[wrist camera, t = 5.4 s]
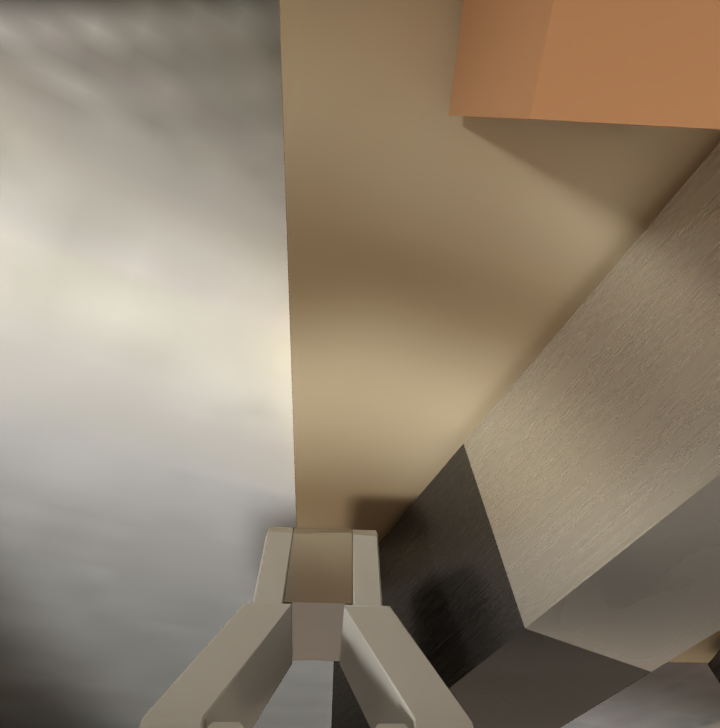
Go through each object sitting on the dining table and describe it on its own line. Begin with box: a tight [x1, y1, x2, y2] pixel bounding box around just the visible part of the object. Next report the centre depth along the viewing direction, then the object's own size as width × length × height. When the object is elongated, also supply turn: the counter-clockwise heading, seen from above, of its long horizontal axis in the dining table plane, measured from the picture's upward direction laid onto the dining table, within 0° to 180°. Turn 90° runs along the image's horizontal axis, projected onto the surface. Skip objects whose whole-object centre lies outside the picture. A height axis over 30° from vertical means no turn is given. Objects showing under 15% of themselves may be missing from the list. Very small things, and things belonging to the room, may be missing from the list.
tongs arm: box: [332, 143, 720, 728], centre depth 7 cm, size 19×2×4 cm, turn 151°
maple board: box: [279, 0, 720, 663], centre depth 9 cm, size 24×16×1 cm, turn 177°
